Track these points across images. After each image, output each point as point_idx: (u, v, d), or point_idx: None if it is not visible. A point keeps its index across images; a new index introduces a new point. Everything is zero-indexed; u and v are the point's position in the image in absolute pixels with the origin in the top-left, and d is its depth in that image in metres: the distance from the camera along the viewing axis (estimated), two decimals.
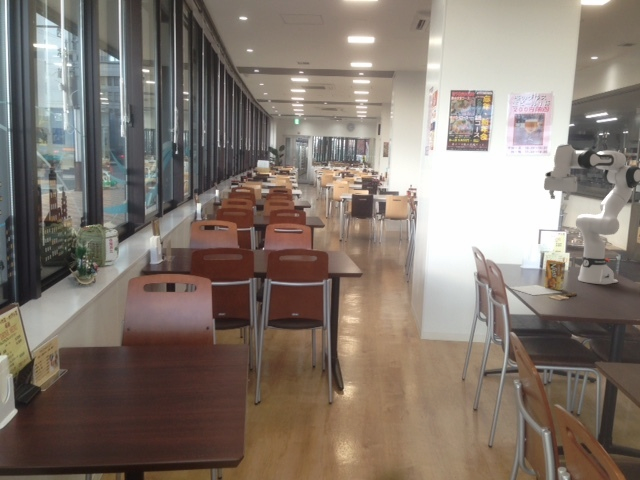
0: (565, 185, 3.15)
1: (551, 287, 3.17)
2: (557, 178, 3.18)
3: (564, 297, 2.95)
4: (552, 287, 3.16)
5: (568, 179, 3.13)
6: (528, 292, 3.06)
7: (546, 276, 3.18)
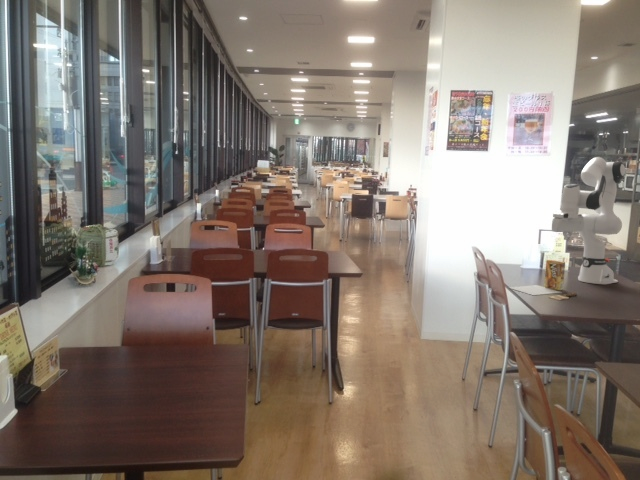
0: (577, 225, 3.16)
1: (551, 287, 3.17)
2: (573, 219, 3.13)
3: (564, 297, 2.95)
4: (552, 287, 3.16)
5: (580, 219, 3.16)
6: (528, 292, 3.06)
7: (546, 276, 3.18)
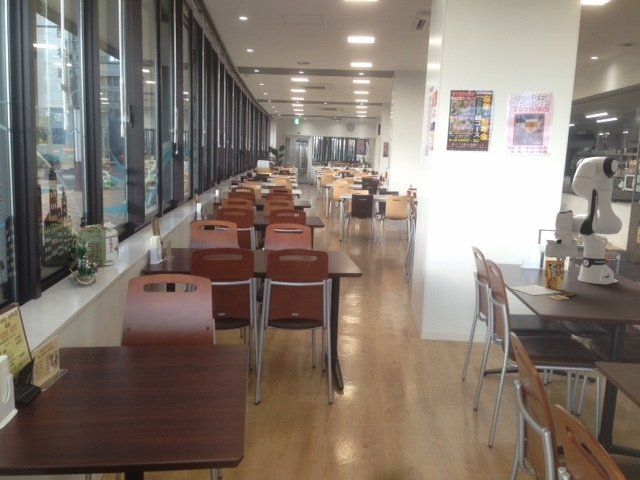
0: (571, 250, 3.17)
1: (551, 287, 3.16)
2: (567, 245, 3.13)
3: (564, 297, 2.95)
4: (552, 287, 3.16)
5: (574, 244, 3.17)
6: (528, 292, 3.06)
7: (546, 276, 3.18)
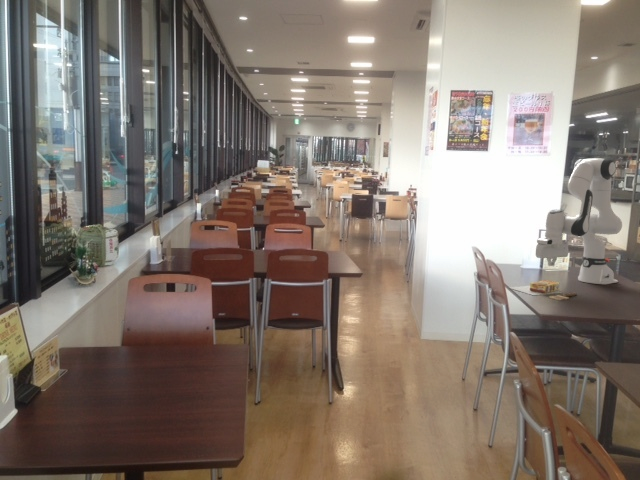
0: (561, 251, 3.14)
1: None
2: (557, 245, 3.10)
3: (564, 297, 2.95)
4: None
5: (564, 245, 3.14)
6: (528, 292, 3.06)
7: None
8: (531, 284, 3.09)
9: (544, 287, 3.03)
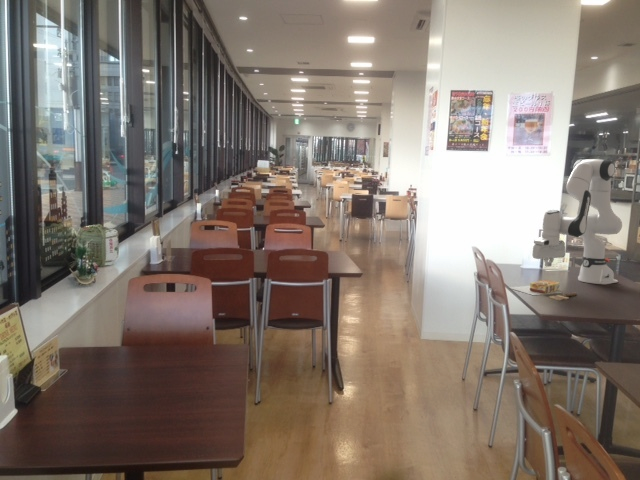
0: (558, 251, 3.13)
1: None
2: (554, 246, 3.10)
3: (564, 297, 2.95)
4: None
5: (561, 245, 3.13)
6: (528, 292, 3.06)
7: None
8: (531, 284, 3.09)
9: (544, 287, 3.03)
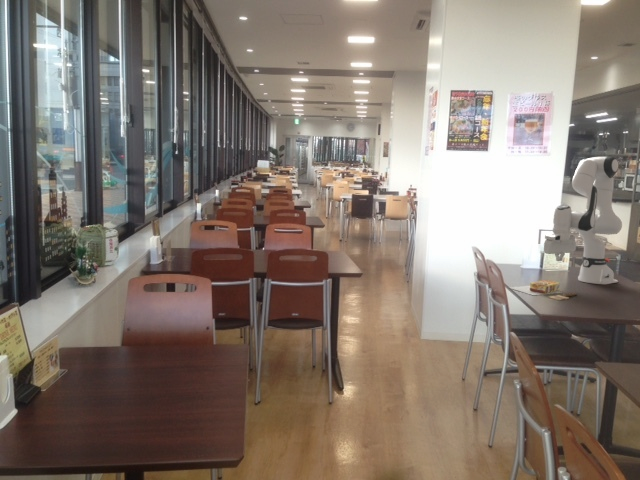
0: (569, 246, 3.17)
1: None
2: (565, 241, 3.14)
3: (564, 297, 2.95)
4: None
5: (572, 240, 3.17)
6: (528, 292, 3.06)
7: None
8: (531, 284, 3.09)
9: (544, 287, 3.03)
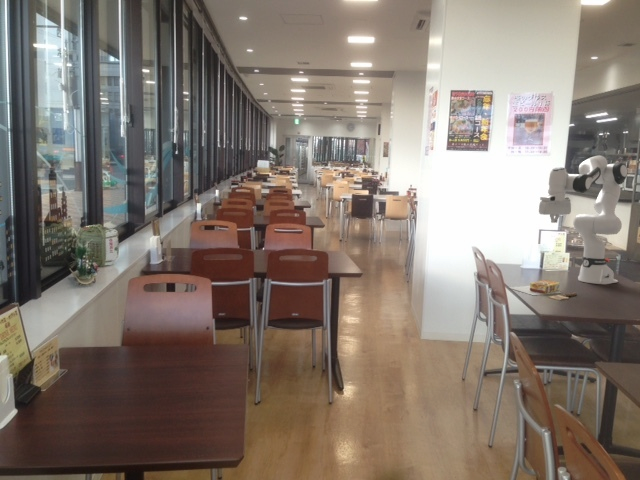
0: (564, 208, 3.21)
1: None
2: (560, 202, 3.18)
3: (564, 297, 2.95)
4: None
5: (567, 202, 3.21)
6: (528, 292, 3.06)
7: None
8: (531, 284, 3.09)
9: (544, 287, 3.03)
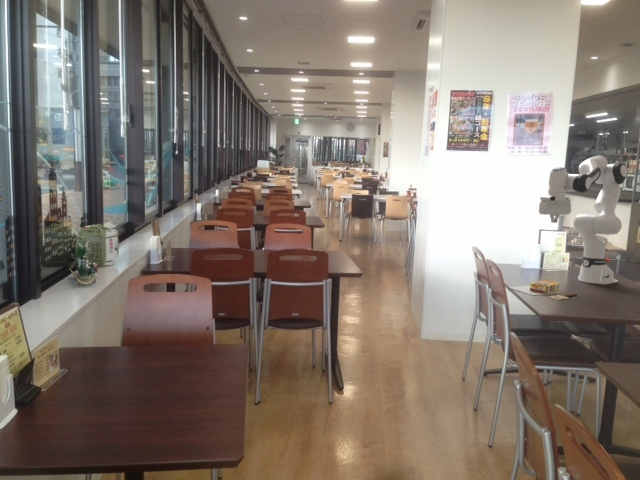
0: (564, 208, 3.21)
1: None
2: (560, 202, 3.18)
3: (564, 297, 2.95)
4: None
5: (567, 202, 3.21)
6: (528, 292, 3.06)
7: None
8: (531, 284, 3.09)
9: (544, 287, 3.03)
